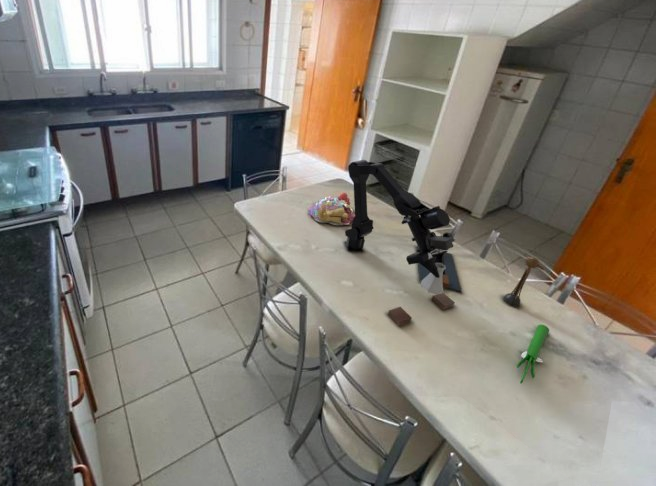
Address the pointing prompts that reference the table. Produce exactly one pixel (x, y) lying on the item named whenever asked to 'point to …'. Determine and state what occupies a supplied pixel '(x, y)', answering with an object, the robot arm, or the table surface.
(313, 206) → the multicoloured lumpy mound
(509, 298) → the wooden tabletop sculpture
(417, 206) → the robot arm
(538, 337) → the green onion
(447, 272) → the right mat
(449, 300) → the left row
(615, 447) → the table surface
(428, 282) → the flask
